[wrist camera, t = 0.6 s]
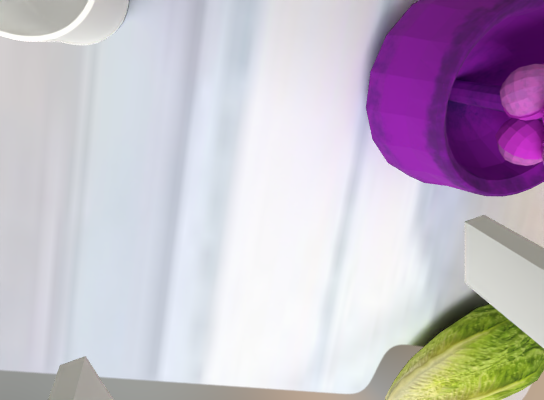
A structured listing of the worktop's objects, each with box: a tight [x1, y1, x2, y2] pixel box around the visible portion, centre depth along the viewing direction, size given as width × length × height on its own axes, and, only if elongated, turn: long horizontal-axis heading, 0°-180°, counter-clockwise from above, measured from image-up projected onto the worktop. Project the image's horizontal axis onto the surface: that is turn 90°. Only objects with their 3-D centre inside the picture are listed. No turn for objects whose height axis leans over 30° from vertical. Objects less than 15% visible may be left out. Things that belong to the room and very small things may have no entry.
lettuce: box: [385, 304, 544, 400], centre depth 53 cm, size 12×24×13 cm
